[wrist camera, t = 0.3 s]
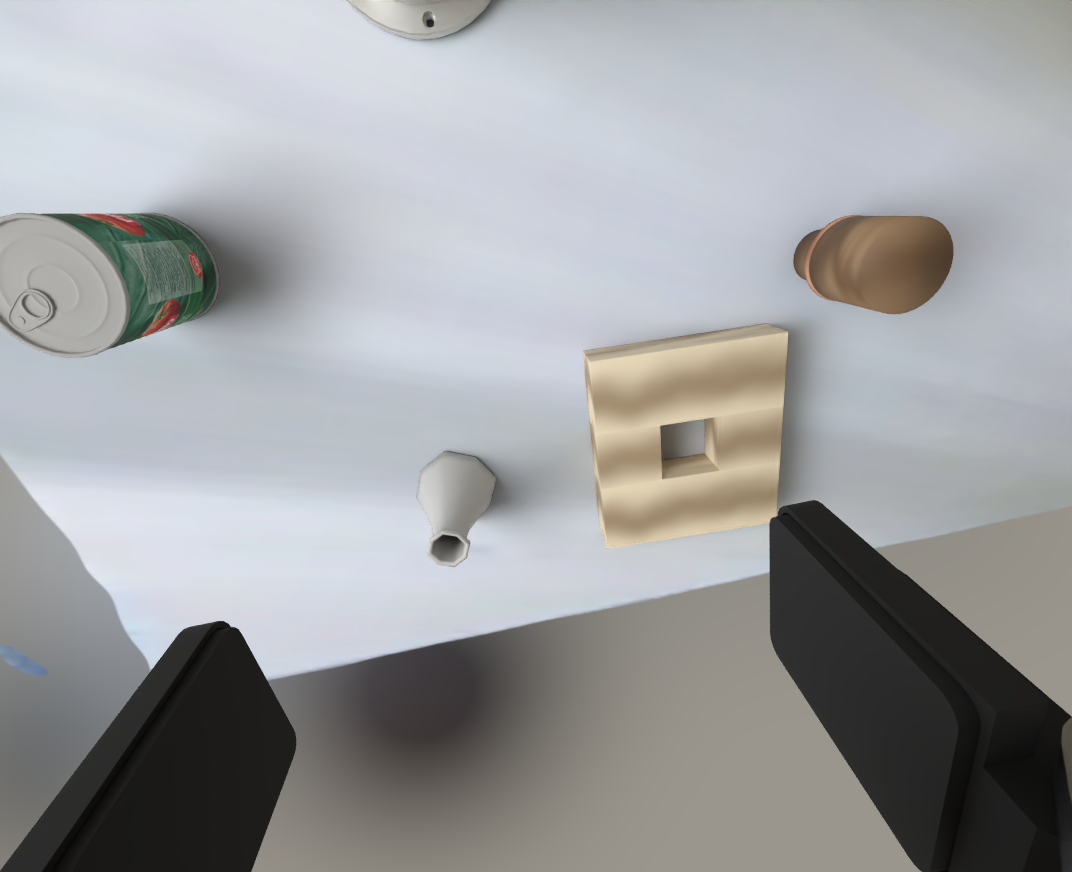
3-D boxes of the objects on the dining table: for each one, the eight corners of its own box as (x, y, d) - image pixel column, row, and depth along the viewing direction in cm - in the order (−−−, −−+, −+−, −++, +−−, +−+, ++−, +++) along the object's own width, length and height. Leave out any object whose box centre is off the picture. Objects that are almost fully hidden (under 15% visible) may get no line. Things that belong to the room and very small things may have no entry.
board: (582, 350, 44) (590, 361, 41) (766, 323, 44) (788, 331, 41) (599, 527, 51) (607, 548, 48) (758, 502, 52) (775, 521, 48)
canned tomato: (153, 188, 37) (27, 179, 27) (242, 279, 40) (157, 302, 30) (82, 259, 38) (-64, 275, 28) (173, 342, 41) (69, 384, 31)
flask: (509, 473, 48) (513, 534, 39) (471, 530, 50) (466, 601, 41) (440, 437, 46) (427, 492, 37) (403, 498, 48) (382, 565, 39)
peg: (783, 221, 41) (866, 223, 32) (858, 210, 41) (962, 208, 32) (778, 298, 44) (855, 321, 34) (849, 288, 44) (944, 307, 35)
